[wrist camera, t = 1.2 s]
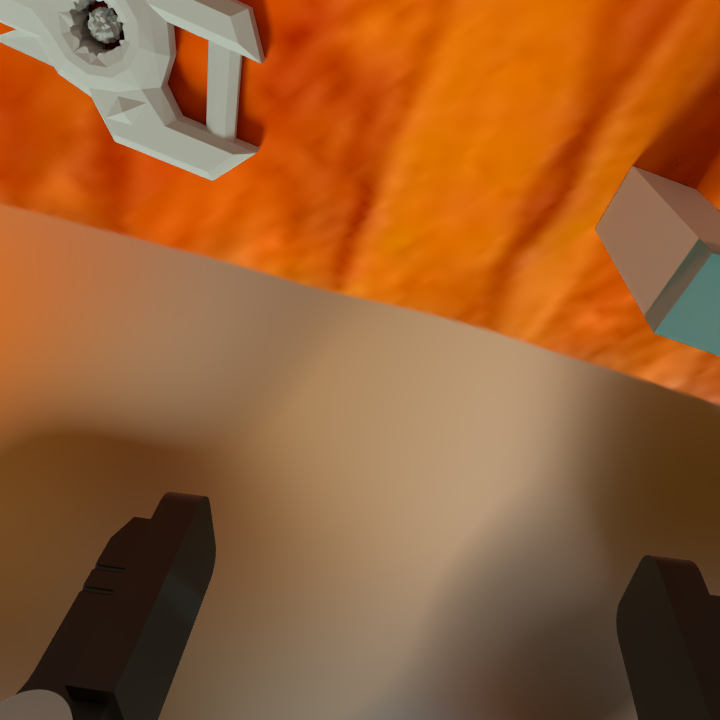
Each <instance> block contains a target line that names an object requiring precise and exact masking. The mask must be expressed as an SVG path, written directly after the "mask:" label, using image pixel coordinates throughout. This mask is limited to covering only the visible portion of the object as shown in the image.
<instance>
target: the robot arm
mask: <svg viewBox="0 0 720 720" xmlns="http://www.w3.org/2000/svg"><path fill="white" fill-rule="evenodd" d="M215 557H216V545H215V536H214V530H213V522H212V515H211V508H210V502H209V498H208V497H206V496H198V495H191V494H183V493H176V492H167V493H166V494H165V495H164V496H163V498H162V499H161V501H160V503H159V505H158V507H157V508H156V510H155V512H154V514H153V516H152V518H151V519H145V518H139V517H134V518H133V519H131V520H130V521H129V522H128V523H127V524H126V525H125V526H124V527H123V528H121V529H120V530H119V531H118V532H117V533H116V534H115V535H114V536H112V537H111V538H110V540H109V542H108V543H107V545H106V547H105V549H104V551H103V552H102V554H101V556H100V557H99V559H98V561H97V563H96V567H95V569H93V570H92V571H91V573H90V575H89V577H88V578H87V580H86V582H85V583H84V585H83V590H82V591H80V592H79V594H78V596H77V597H76V599H75V601H74V603H73V604H72V606H71V608H70V610H69V611H68V613H67V615H66V616H65V618H64V620H63V622H62V623H61V625H60V627H59V629H58V630H57V632H56V634H55V636H54V637H53V639H52V641H51V643H50V644H49V646H48V648H47V650H46V651H45V653H44V655H43V656H42V658H41V660H40V662H39V664H38V665H37V667H36V669H35V670H34V672H33V674H32V675H31V677H30V678H29V680H28V681H27V682H26V683H25V685H24V686H23V687H22V688H21V690H19V691H18V693H16V694H15V695H13V696H11V697H10V698H8V699H6V700H4V701H2V702H1V703H0V720H158V718H159V715H160V713H161V710H162V707H163V704H164V702H165V700H166V697H167V694H168V691H169V689H170V686H171V684H172V681H173V678H174V676H175V673H176V670H177V668H178V665H179V662H180V660H181V657H182V654H183V652H184V649H185V646H186V644H187V641H188V638H189V636H190V633H191V630H192V628H193V625H194V623H195V620H196V617H197V615H198V612H199V609H200V607H201V604H202V601H203V598H204V596H205V593H206V590H207V588H208V585H209V583H210V580H211V577H212V573H213V569H214V564H215ZM616 627H617V636H618V641H619V645H620V648H621V653H622V656H623V660H624V664H625V668H626V672H627V676H628V680H629V684H630V688H631V692H632V696H633V700H634V704H635V708H636V712H637V716H638V720H720V596H714V595H710V594H709V592H708V590H707V587H706V585H705V582H704V580H703V577H702V575H701V573H700V571H699V568H698V567H697V565H696V564H695V563H694V562H692V561H690V560H683V559H675V558H667V557H659V556H652V555H646V556H644V557H643V558H642V560H641V561H640V563H639V565H638V567H637V569H636V571H635V573H634V575H633V577H632V579H631V581H630V583H629V584H628V586H627V588H626V590H625V592H624V594H623V596H622V598H621V600H620V602H619V605H618V609H617V618H616Z"/></svg>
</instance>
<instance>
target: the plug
mask: <svg viewBox="0 0 720 720" xmlns="http://www.w3.org/2000/svg"><path fill="white" fill-rule="evenodd" d="M595 230H596V232H597V234H598V235H599V237H600V239H601V241H602V243H603V244H604V246H605V248H606V250H607V251H608V253H609V255H610V257H611V258H612V260H613V262H614V264H615V265H616V267H617V269H618V271H619V273H620V274H621V276H622V278H623V280H624V281H625V283H626V285H627V287H628V288H629V290H630V292H631V294H632V296H633V297H634V299H635V301H636V303H637V304H638V306H639V308H640V310H641V311H642V313H643V315H644V317H645V318H646V320H647V322H648V324H649V326H650V327H651V329H652V331H653V333H655V334H658V335H661V336H664V337H667V338H669V339H672V340H675V341H678V342H681V343H684V344H687V345H689V346H692V347H695V348H698V349H701V350H704V351H707V352H709V353H712V354H715V355H718V356H720V211H719V210H718V209H717V208H716V207H715V206H714V205H713V204H712V203H711V202H709V201H708V200H707V199H706V198H705V197H704V196H703V195H702V194H701V193H700V192H698V191H697V190H696V189H693V188H691V187H688V186H685V185H683V184H680V183H677V182H675V181H672V180H669V179H667V178H664V177H661V176H659V175H656V174H653V173H651V172H648V171H645V170H643V169H640V168H637V167H635V166H632V167H631V169H630V171H629V172H628V174H627V176H626V177H625V179H624V181H623V182H622V184H621V186H620V188H619V189H618V191H617V193H616V194H615V196H614V198H613V199H612V201H611V203H610V205H609V206H608V208H607V210H606V211H605V213H604V215H603V216H602V218H601V220H600V221H599V223H598V225H597V227H596V228H595Z"/></svg>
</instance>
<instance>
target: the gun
mask: <svg viewBox="0 0 720 720" xmlns="http://www.w3.org/2000/svg"><path fill="white" fill-rule="evenodd" d="M96 1H99V2H100V1H103V0H96ZM104 1H105V3H106V4H107V5H108V8H106V7H104V6H103V9H102V8H101V6H100V7H99V8H97V9H95V10H93V12H92V13H90V12H89V10H88V9H89V5H94V4H95V0H0V23H3V24H5V25H8V26H10V27H12V28H15V29H16V30H13V31H10V32H7V33H4V34H1V35H0V42H1V43H3V44H5V45H7V46H10V47H12V48H14V49H16V50H18V51H21V52H23V53H25V54H27V55H29V56H32V57H34V58H36V59H38V60H40V61H42V62H45V63H47V64H49V65H51V66H53V67H54V68H55V69H56V71H57V72H58V74H59V75H61V76H62V77H64V78H65V79H66V80H68V81H69V82H71V83H72V84H74V85H75V86H76V87H78V88H79V89H81V90H82V91H84V92H85V93H86V94H88V95H89V96H91V97H92V99H93V101H94V103H95V105H96V107H97V109H98V110H99V112H100V114H101V116H102V118H103V120H104V122H105V124H106V126H107V127H108V129H109V131H110V133H111V135H112V137H113V139H114V141H115V142H117V143H120V144H122V145H125V146H127V147H130V148H132V149H135V150H137V151H140V152H142V153H145V154H147V155H150V156H152V157H155V158H157V159H160V160H162V161H165V162H167V163H170V164H172V165H174V166H177V167H179V168H182V169H184V170H187V171H189V172H192V173H194V174H197V175H199V176H202V177H204V178H207V179H209V180H212V181H213V180H215V179H216V178H218V177H220V176H221V175H223V174H224V173H226V172H227V171H229V170H231V169H232V168H234V167H235V166H237V165H238V164H240V163H242V162H243V161H245V160H246V159H248V158H249V157H251V156H253V155H254V154H256V153H257V152H258V150H259V149H260V148H259V147H257V146H254V145H252V144H249V143H247V142H245V141H242V140H240V139H238V138H236V133H237V120H238V107H239V94H240V80H241V67H242V55H243V56H245V57H248V58H250V59H252V60H254V61H257V62H259V63H261V64H262V63H263V62H264V61H265V57H264V53H263V49H262V45H261V40H260V36H259V32H258V28H257V24H256V20H255V16H254V11H253V7H251V6H249V5H247V4H244V3H242V2H240V1H238V0H104ZM110 8H114V10H115V12H116V13H117V15H118V17H117V15H115V14H114V13H113V10H111V9H110ZM88 15H89V16H90V18H89V20H87V16H88ZM120 22H121V23H123V27H122V25H121V23H120ZM174 25H176V26H178V27H180V28H182V29H185V30H187V31H189V32H191V33H194V34H196V35H198V36H200V37H203V38H205V39H207V40H209V50H208V83H207V117H206V125H204V124H202V123H199V122H197V121H195V120H192V119H190V118H187V117H185V116H183V115H182V112H181V110H180V108H179V106H178V104H177V102H176V100H175V98H174V96H173V94H172V92H171V90H170V88H169V86H168V84H167V83H168V80H169V77H170V74H171V71H172V67H173V64H174V61H175V58H176V54H177V52H176V42H175V31H174ZM121 31H124V38H125V40H120V41H119V42H120V44H121V46H118V47H116V48H115V49H114V48H113V47H112V48H111V49H106V47H105V44H109V43H110V42H111V43H114V42H115V41H116V40H117V39H118V40H119V38H120V35H119V34H120V33H119V32H121ZM97 40H98V41H100V42H102V43H103V44H100V43H99V42H97Z"/></svg>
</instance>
